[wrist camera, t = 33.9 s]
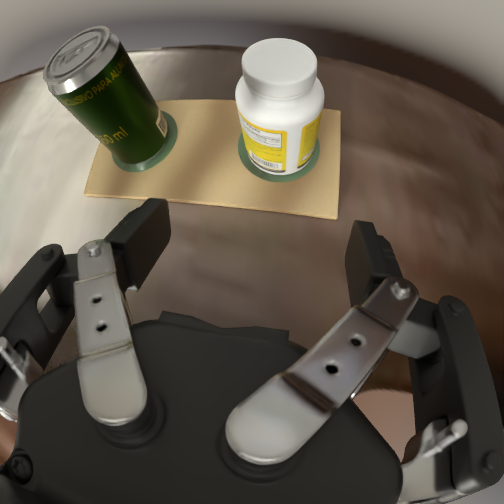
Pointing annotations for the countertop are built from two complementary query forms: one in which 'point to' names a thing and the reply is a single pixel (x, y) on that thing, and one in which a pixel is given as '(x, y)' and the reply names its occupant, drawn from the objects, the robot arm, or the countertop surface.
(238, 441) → the robot arm
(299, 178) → the board
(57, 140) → the countertop surface
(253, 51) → the supplement bottle
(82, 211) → the countertop surface
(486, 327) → the countertop surface
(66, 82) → the beer can
